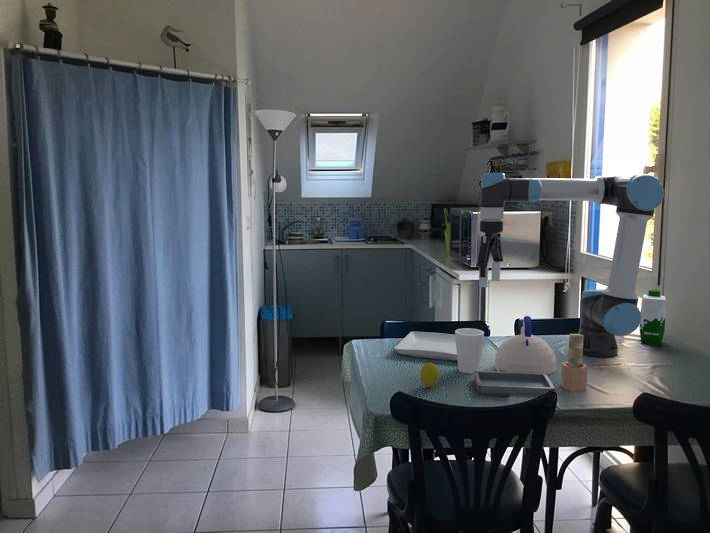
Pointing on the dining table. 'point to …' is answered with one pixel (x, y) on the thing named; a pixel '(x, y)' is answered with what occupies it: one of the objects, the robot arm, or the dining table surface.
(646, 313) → the milk carton
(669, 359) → the dining table surface
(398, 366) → the dining table surface
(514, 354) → the kettle
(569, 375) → the pink octagonal cup
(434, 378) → the lemon
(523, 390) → the tray
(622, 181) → the robot arm
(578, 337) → the peg
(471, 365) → the foam cup
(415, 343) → the square plate
